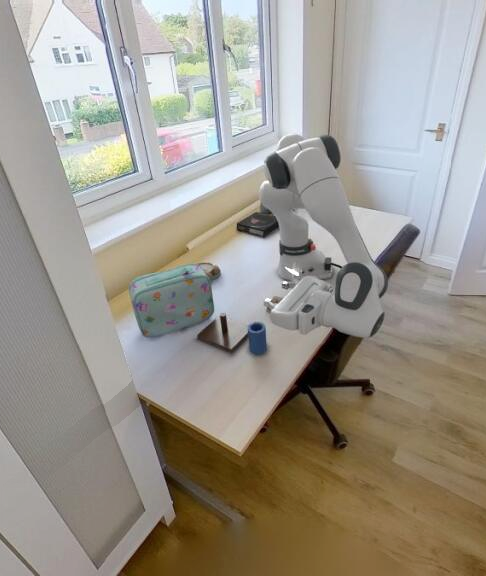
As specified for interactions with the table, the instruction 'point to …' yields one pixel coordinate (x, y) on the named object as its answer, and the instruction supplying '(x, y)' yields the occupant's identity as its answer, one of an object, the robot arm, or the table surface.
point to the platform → (224, 334)
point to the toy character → (274, 300)
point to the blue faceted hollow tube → (257, 338)
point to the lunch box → (171, 300)
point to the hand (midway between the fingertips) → (274, 292)
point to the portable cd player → (258, 224)
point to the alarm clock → (210, 270)
